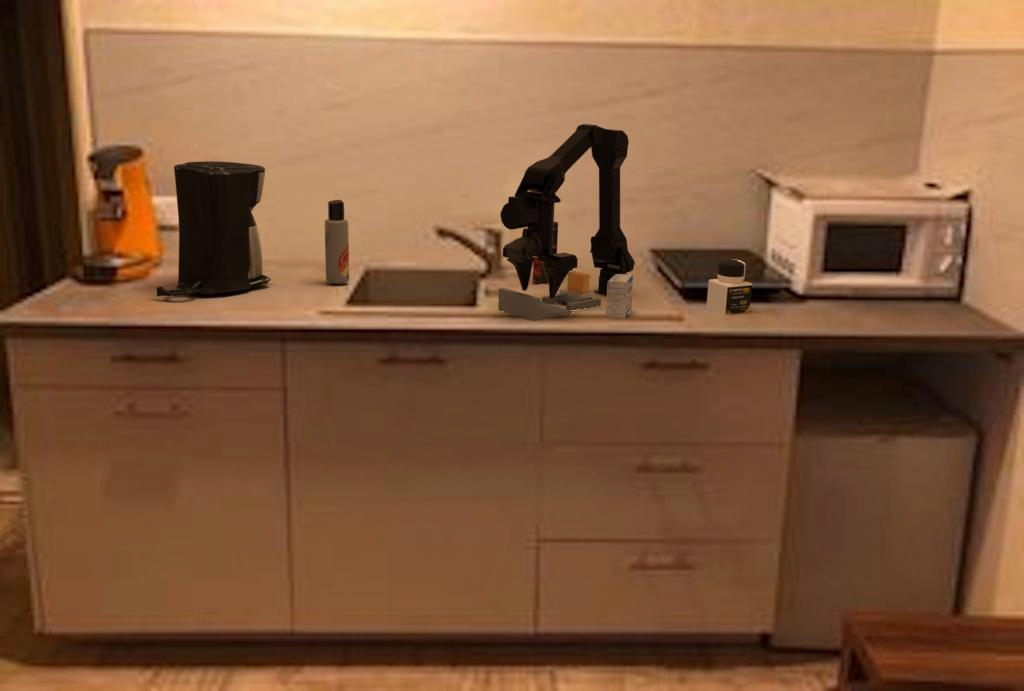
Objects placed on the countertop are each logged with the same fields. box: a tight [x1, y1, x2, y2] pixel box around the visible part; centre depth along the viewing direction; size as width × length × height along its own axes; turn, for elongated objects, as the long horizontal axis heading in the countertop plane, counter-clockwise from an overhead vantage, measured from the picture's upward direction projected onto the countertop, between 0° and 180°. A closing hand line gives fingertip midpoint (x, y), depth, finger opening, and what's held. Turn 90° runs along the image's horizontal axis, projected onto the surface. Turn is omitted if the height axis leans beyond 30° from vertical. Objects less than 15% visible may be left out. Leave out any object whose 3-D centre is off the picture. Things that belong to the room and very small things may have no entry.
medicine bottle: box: [706, 258, 753, 315], centre depth 232 cm, size 7×7×12 cm
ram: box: [558, 270, 594, 303], centre depth 234 cm, size 5×6×6 cm
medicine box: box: [605, 274, 634, 319], centre depth 226 cm, size 8×4×9 cm, turn 164°
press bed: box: [497, 287, 602, 322], centre depth 230 cm, size 22×12×5 cm, turn 131°
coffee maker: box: [154, 160, 272, 297], centre depth 238 cm, size 20×28×29 cm
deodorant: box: [532, 220, 559, 285], centre depth 257 cm, size 6×6×15 cm
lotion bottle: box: [324, 199, 350, 284], centre depth 249 cm, size 6×6×20 cm
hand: (538, 294), depth 226 cm, fingers open, 9 cm apart
